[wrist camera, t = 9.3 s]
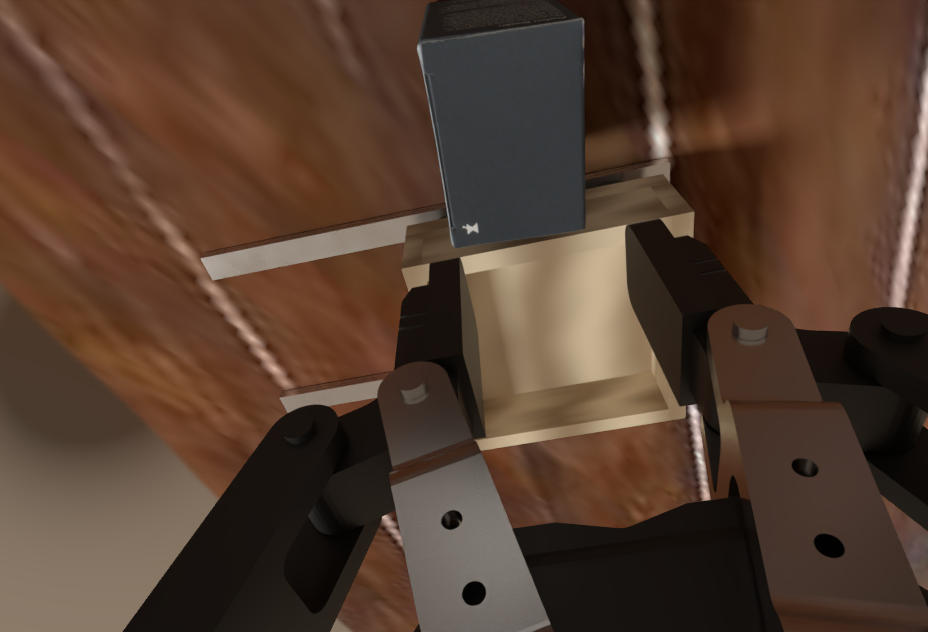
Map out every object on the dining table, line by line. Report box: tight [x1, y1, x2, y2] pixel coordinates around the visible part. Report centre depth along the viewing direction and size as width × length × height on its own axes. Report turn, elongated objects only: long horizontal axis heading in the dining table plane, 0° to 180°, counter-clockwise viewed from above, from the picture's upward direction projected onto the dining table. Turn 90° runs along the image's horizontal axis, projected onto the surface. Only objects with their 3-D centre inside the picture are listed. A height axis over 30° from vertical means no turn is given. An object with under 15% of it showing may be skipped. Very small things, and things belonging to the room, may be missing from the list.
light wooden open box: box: [402, 174, 694, 451], centre depth 33 cm, size 14×14×6 cm
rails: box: [200, 158, 670, 413], centre depth 36 cm, size 28×14×1 cm, turn 102°
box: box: [417, 0, 586, 248], centre depth 24 cm, size 8×6×11 cm
